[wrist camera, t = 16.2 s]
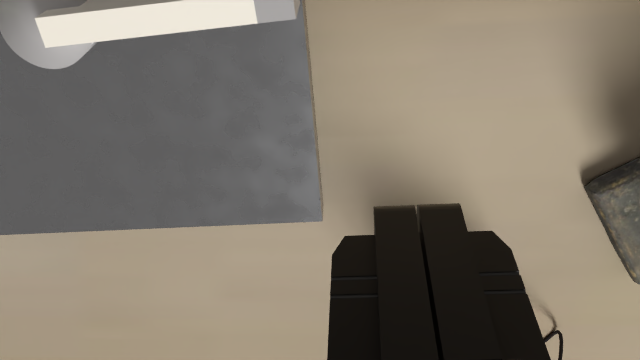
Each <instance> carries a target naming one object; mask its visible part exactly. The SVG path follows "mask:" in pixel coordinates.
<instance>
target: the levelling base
mask: <svg viewBox="0 0 640 360" xmlns="http://www.w3.org/2000/svg"><path fill="white" fill-rule="evenodd" d="M322 219H323V197H322V186H321V174H320V163H319V152H318V141H317V130H316V119H315V108H314V97H313V85H312V74H311V63H310V52H309V41H308V30H307V19H306V8H305V0H300V5H299V9H298V13H297V18H296V19H292V20H284V21H275V22H266V23H258V24H249V25H240V26H232V27H223V28H214V29H205V30H197V31H188V32H179V33H171V34H162V35H153V36H144V37H136V38H127V39H118V40H110V41H101V42H97V43H96V44H95V45H94V46H93V47H92V48H91V49H90V50H89V51H88V52H87V53H86V54H85V55H84V56H82V57H81V58H80V59H79V60H78V61H77V62H76V63H74V64H72V65H70V66H68V67H65V68H61V69H47V68H42V67H39V66H36V65H33V64H31V63H29V62H27V61H26V60H24V59H23V58H21V57H20V56H19V55H17V54H16V53H15V52H14V51H13V50H12V49H11V48H10V46H9V45H8V44H7V43H6V41H5V39H4V38H3V36H2V34H1V32H0V235H11V234H34V233H58V232H81V231H105V230H128V229H152V228H175V227H199V226H222V225H246V224H269V223H293V222H316V221H322Z"/></svg>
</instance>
